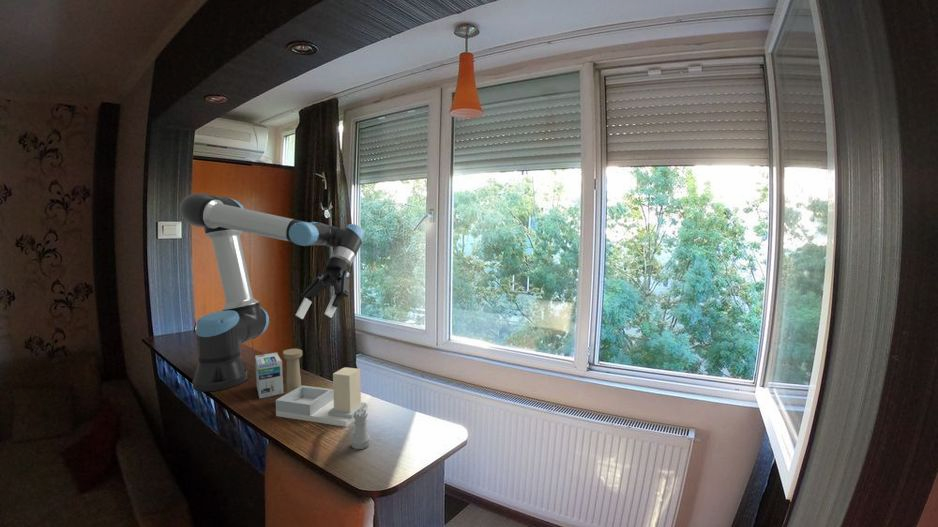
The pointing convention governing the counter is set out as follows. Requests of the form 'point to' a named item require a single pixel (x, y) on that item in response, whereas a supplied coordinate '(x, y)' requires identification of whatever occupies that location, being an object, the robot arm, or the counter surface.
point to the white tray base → (325, 400)
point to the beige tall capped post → (292, 368)
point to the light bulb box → (269, 375)
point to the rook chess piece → (360, 431)
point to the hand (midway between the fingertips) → (313, 316)
